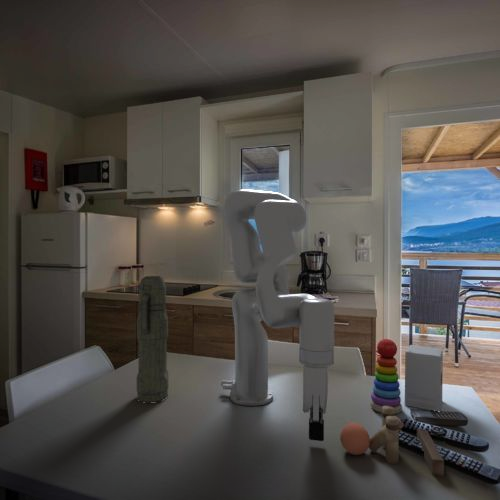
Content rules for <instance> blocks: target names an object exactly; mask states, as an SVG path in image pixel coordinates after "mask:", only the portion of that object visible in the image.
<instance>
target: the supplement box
mask: <svg viewBox="0 0 500 500" xmlns="http://www.w3.org/2000/svg"><path fill="white" fill-rule="evenodd" d="M443 352H444V350H443V348H439V347H429V346H424V345H423V346H422V345H416V344H415V345H414V344H410V345H409V346H408V347H407V349H406V350H405V353H404V354H405V355H404V406H409V407H413V408H418V409H422V410H427V411H431V410H435V411H440V412H441V409H442V406H443V380H444V379H443V374H444V373H443V367H444V366H443V361H444V360H443V359H444V358H443V356H444V353H443ZM435 411H434V412H435Z"/></svg>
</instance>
